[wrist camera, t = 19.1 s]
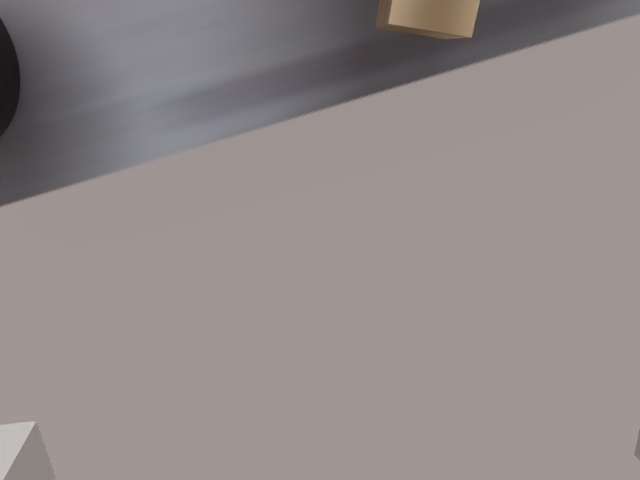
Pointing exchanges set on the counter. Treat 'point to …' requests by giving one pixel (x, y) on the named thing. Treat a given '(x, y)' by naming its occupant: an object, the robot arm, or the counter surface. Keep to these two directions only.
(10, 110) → the robot arm
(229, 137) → the counter surface
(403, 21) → the oak beam
